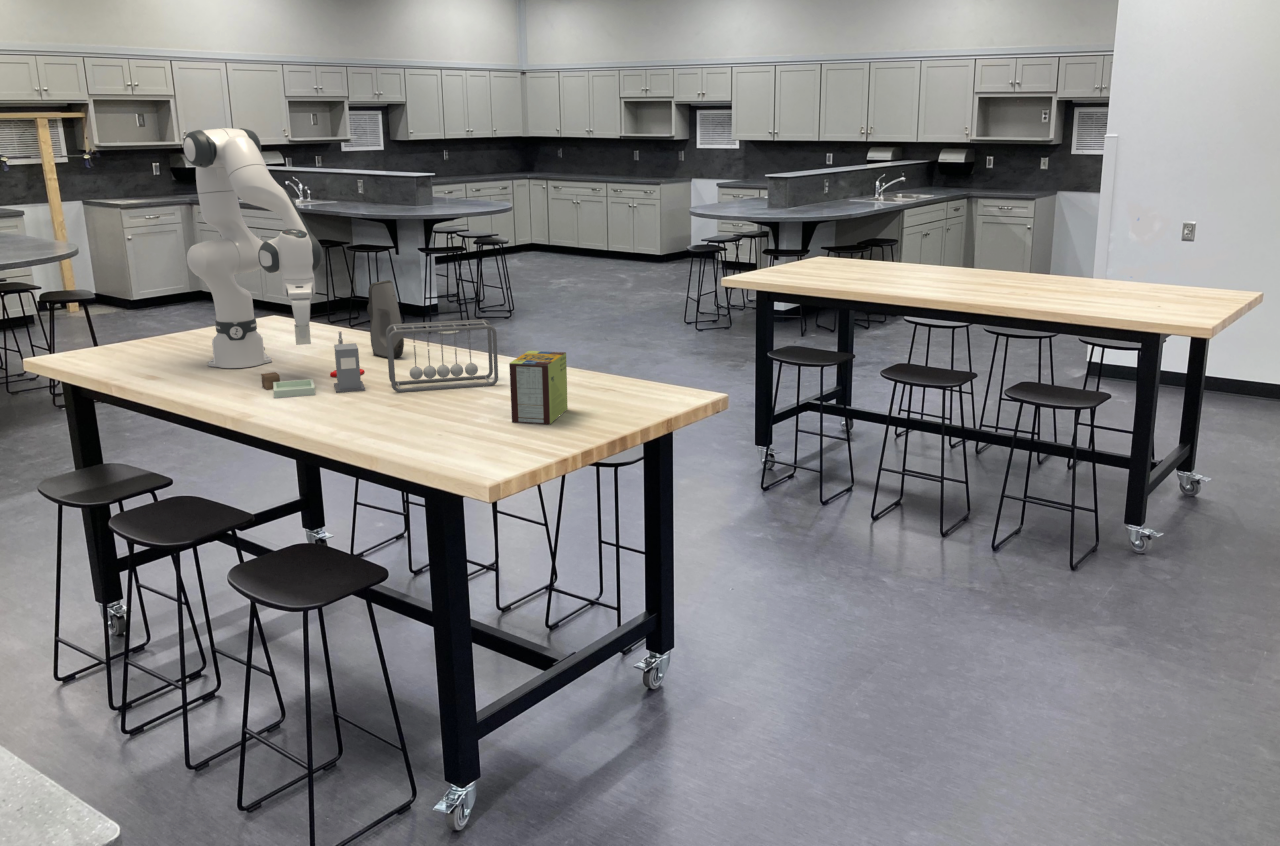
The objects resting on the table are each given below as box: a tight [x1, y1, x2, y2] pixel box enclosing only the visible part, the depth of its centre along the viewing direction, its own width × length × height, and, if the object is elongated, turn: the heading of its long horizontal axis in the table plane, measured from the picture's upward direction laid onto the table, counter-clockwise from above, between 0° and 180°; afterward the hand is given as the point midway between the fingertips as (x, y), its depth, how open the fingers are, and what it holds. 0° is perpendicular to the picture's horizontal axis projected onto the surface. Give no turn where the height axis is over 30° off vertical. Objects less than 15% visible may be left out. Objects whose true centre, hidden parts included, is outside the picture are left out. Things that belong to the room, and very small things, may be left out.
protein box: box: [509, 350, 569, 425], centre depth 269 cm, size 10×15×16 cm
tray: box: [272, 378, 316, 399], centre depth 295 cm, size 11×11×2 cm
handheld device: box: [366, 279, 405, 359], centre depth 338 cm, size 6×15×25 cm, turn 46°
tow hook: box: [329, 330, 365, 378], centre depth 316 cm, size 9×14×10 cm
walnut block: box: [260, 371, 281, 391], centre depth 301 cm, size 4×4×4 cm
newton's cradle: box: [386, 318, 499, 393], centre depth 301 cm, size 30×10×18 cm, turn 107°
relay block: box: [294, 323, 312, 346], centre depth 302 cm, size 4×4×6 cm
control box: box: [333, 342, 366, 394], centre depth 299 cm, size 10×8×12 cm
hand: (302, 335), depth 303 cm, fingers closed on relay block, 4 cm apart
